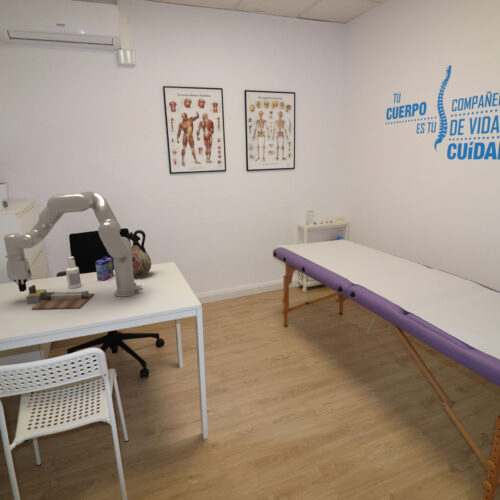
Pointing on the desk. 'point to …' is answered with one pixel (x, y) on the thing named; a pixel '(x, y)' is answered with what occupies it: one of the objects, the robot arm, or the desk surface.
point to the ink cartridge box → (104, 268)
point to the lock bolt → (35, 291)
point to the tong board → (61, 304)
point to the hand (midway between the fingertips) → (23, 290)
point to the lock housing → (35, 299)
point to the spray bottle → (73, 274)
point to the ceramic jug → (139, 255)
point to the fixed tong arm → (64, 293)
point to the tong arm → (66, 296)
